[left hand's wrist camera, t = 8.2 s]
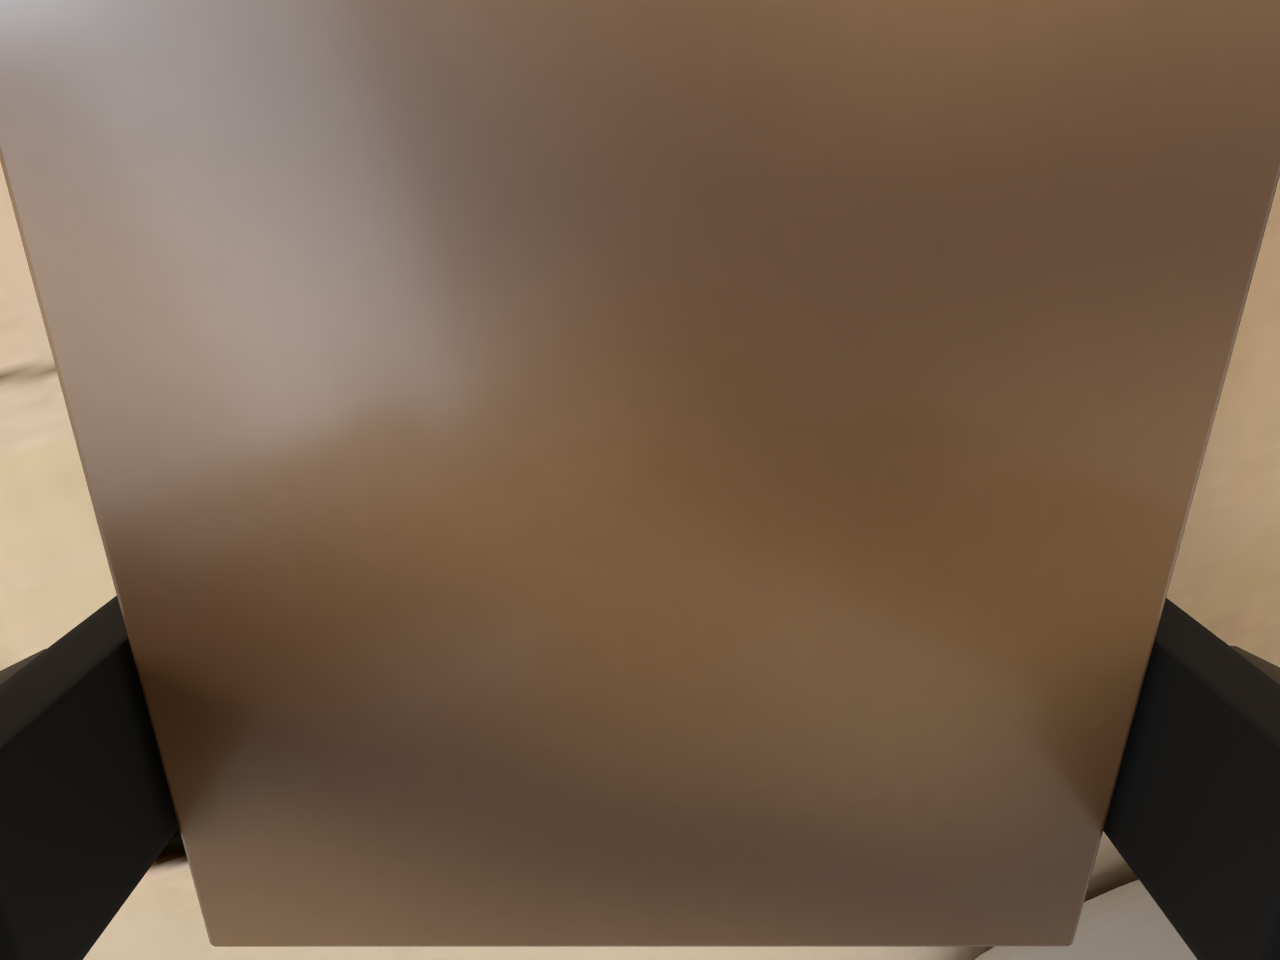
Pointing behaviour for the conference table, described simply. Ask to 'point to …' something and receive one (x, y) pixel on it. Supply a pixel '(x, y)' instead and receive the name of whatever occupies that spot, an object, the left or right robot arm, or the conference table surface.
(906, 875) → the cabinet
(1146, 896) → the projector
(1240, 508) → the conference table surface
